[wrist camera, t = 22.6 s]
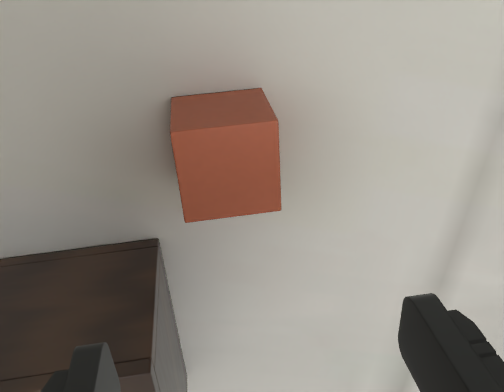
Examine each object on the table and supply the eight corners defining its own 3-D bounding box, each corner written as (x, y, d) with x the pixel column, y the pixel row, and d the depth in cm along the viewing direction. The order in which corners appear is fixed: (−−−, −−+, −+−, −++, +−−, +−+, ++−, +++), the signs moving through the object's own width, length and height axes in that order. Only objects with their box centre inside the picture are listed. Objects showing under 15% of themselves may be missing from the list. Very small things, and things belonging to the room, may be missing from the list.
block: (183, 177, 25) (185, 223, 21) (171, 97, 23) (169, 132, 19) (265, 167, 26) (281, 211, 22) (261, 87, 23) (278, 120, 20)
